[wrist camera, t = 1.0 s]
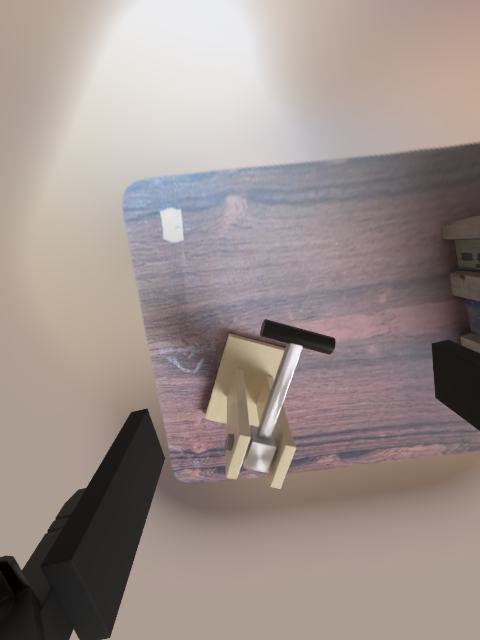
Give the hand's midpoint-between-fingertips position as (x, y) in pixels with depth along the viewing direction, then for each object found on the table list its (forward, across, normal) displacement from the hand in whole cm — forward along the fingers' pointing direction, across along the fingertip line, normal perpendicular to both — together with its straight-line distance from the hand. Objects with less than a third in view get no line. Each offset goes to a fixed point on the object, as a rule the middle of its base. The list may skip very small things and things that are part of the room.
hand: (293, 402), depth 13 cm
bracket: (+24, -3, -11) cm, 26 cm away
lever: (+12, 0, -6) cm, 14 cm away
